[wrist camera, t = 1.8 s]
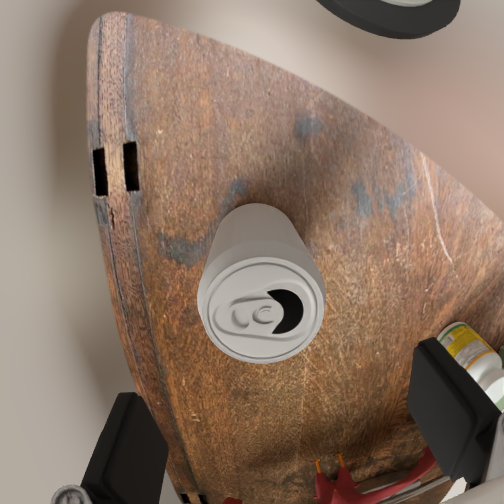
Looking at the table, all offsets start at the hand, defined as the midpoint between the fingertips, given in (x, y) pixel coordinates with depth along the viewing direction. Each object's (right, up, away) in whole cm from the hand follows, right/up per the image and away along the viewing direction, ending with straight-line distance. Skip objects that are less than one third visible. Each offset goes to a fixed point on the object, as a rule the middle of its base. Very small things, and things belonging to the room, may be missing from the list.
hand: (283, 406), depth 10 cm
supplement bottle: (+21, -5, +21) cm, 30 cm away
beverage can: (-1, +6, +16) cm, 17 cm away
